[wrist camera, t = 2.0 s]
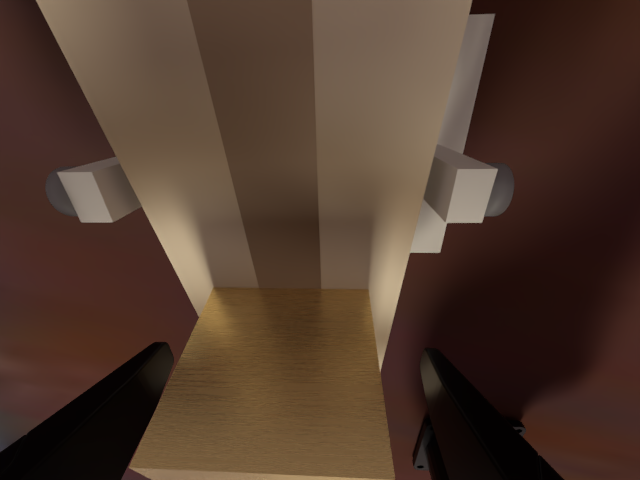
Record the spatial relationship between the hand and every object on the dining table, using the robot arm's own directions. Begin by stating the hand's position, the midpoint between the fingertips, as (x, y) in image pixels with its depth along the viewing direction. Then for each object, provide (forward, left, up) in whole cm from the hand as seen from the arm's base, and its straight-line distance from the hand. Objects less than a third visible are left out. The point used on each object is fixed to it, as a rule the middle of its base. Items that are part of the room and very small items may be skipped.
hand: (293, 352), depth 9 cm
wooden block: (0, 0, -1) cm, 1 cm away
